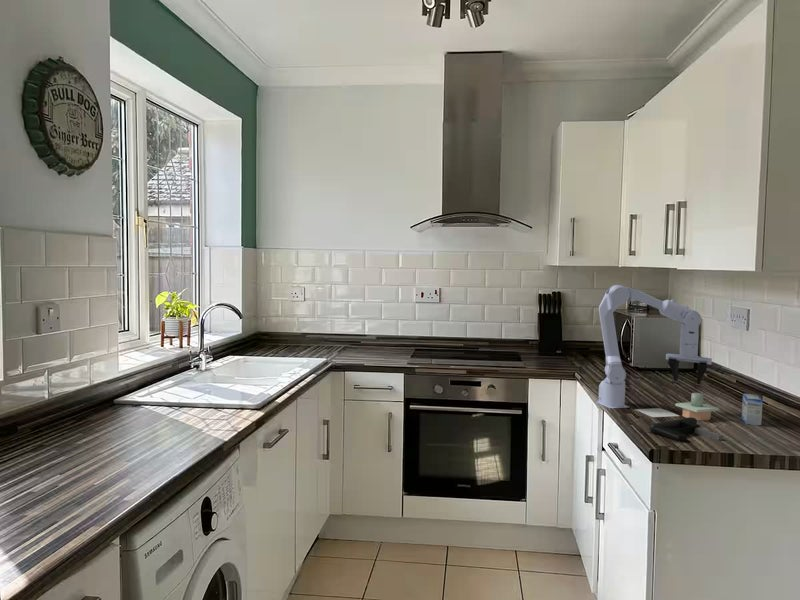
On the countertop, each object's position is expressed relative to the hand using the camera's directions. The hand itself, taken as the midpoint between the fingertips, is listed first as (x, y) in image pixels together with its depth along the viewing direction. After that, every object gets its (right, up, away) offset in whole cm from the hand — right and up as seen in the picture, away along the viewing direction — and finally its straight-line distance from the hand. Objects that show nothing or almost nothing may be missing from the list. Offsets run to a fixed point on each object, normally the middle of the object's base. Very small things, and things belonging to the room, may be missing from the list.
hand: (687, 382), depth 202 cm
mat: (-12, -11, -4) cm, 17 cm away
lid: (-1, -8, -9) cm, 12 cm away
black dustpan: (-13, -13, -27) cm, 33 cm away
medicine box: (+15, -12, -13) cm, 23 cm away
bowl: (-1, -11, -9) cm, 14 cm away
